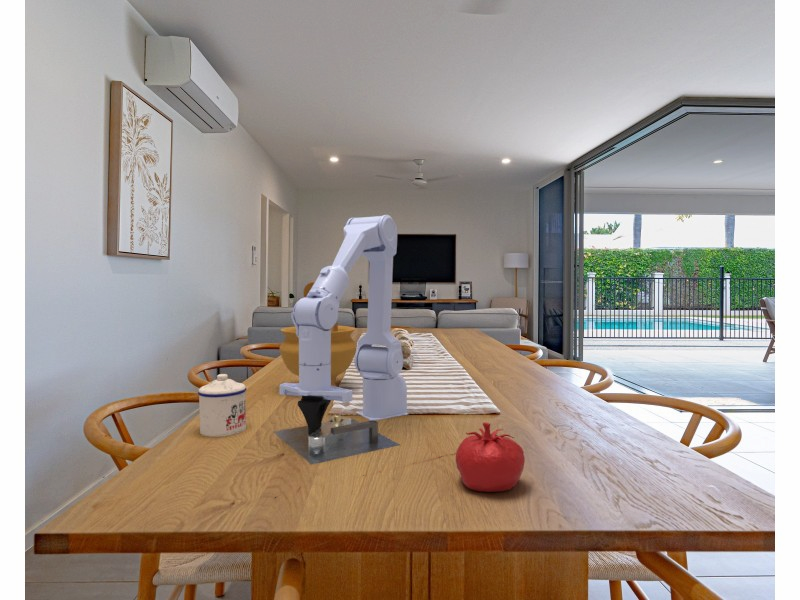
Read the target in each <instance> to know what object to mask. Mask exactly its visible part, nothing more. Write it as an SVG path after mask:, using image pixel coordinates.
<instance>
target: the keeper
mask: <svg viewBox="0 0 800 600" xmlns="http://www.w3.org/2000/svg"><path fill="white" fill-rule="evenodd" d="M366 428H369V442H371V443H377V442H378V433H379V421H378V420H376V419H374V420H368V421H362V422H359V423H355V424H350V425H344V426H339V427H333V428H331V433H332V434H334V435H335V434H340V433H345V432H350V431H356V430H361V429H366Z"/></svg>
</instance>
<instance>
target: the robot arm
mask: <svg viewBox="0 0 800 600" xmlns="http://www.w3.org/2000/svg"><path fill="white" fill-rule="evenodd" d="M343 238H344V239H343V241H342V243H341V246H340V247H339V250H338V252H337V253H336V256H335V257H334V260H333V262H332V265H326V266H325V267H322V268H321V270H320V272H319V275H318V276H317V278H316V280H315V281H314V282H315V283H314V285H313V286H312V288H311V290H310V291H309V293H308V295H307V296H306V297H304V296H303V297H302V298H299V300H297V302H296V303H295V304H294V306H293V310H292V312H291V314H290V315H291V316H290V317H291V321H292V323H293V326H294V327H296V335H297V337H298V338H299V376H298V382H297V383H296V382H295V383H294V382H292V383H291V382H284V383H281V384H279V388H278V389H279V395H280V396H286V395H288V396H296V397H301V398H300V400H298V401H297V406H298V408H299V409H300V411H301V413H302V415H303V418H304V420H305V421H306V426H308V434H309V436H310V435H311V434H312V433H313V432H315V431H316V430H317V429H319V428H320V427H321V423H323V418H324V415H325V413H326V411H327V409H328V407H329V406H330V403H331V401H334V402H335V401H336V402H337V401H338V402H341V403H343V404H348V403H350V402H352V401H353V390H352V389H349V388H348V389H346V388H342V387H339V386H337V387H335V386H331V328H332V327H333V326H334V325H335V323H336V322H337V323H338V317H339V310H340V300H341V299H342V297H343V296H344V294H345V292H346V290H347V289H348V286H349V284H350V277H349V273H350V271H351V270H352V268H353V267H354V266H355V264H356V262H357V261H358V259H359V258H360V257H361V256H362V257H364V258H366V260H367V261H368V262H369V270H368V274H369V275H368V295H367V296H368V297H367V298H368V299H367V301H368V302H367V321H366V322H367V323H366V326H367V327H366V328H367V329H366V330H367V331H366V333H365V334H363V335H362V336H361V337H359V339H358V340H357V344H356V345H357V349H356V353H355V356H354V358H353V360H354V366H355V369H356V371H357V372H358V373H359V376H360V377H362V410H359V411H355V413H356V414H358V415H360V416H362V417H363V418H366V419H367V420H369V421H372V420H375V421H379V420H384V419H389V418H394V417H401V416H405V415H406V416H407V415H409V412H408V401H407V400H408V395H407V393H408V389H407V383H406V380H405V378H404V376H402V375H401V371H402V369H403V366H404V355H403V350H402V341H400V340H399V339H398V338H397V337H396V336H395V335H394V334H393V333H392V332H391V329H392V328H391V326H392V295H393V272H394V271H393V269H394V257H395V256H396V254H397V247H398V227H397V225H396V223H395V221H394V219H393V218H392V216H391V215H390V214H384V215H377V216H365V217H364V216H363V217H356V216H355V217H350V218H349V219H348V220H347V221H346V224H345V226H344V227H343ZM373 345H374V346H373Z"/></svg>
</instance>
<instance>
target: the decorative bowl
mask: <svg viewBox="0 0 800 600" xmlns="http://www.w3.org/2000/svg"><path fill="white" fill-rule="evenodd" d="M314 283H315V281H310V282H309V283H307V284H305V286H304V288H303V298H304V297H306V296H307V295H308V293H309V291H310V290H311V288H312V286H313V285H314ZM355 330H356V327H354V326H347V325H339V324H338V321H337V322H336V323H335V325H334V326H333V327H332V328H331V386H335V387H338V385H337V384H336V379H337V377H338V376H339V375H341V374H343V373H344V372H346V371H348V369H349V368H350V366H351V365H352V362H353V360H354V357H355V353H356V350H357V345H358V344H357V343H356V341H355V340H354V339H353V338H352V337H351V335H352V334H353V333H354V331H355ZM280 331H281V332H282V333H283V335H284V336H285V339H284V340H283V341H282V342H281V344H280V345H279V354H280V356H281V359H282V361H283V362H284V365H285V366H286V368H287V369H288V371H289V372H290V373H292V374H294V375H295V376H297V377H299V338H298V337H297V335H296V327H295V326H288V327H283V328H280Z"/></svg>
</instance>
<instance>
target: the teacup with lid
mask: <svg viewBox="0 0 800 600" xmlns="http://www.w3.org/2000/svg"><path fill="white" fill-rule="evenodd" d="M246 392H247V386H246V385H245V384H244V383H242V382H237V381H235V380H233V379H232V378H229V376H228V374H227V373H220V374H218V375H216V379H214V380H212V381H210V382H209V383H207V384H205V385H202V386H201V387H200V388H198V391H197V394H198V400H199V401H198V402H199V408H198V409H199V434H200V435H202V436H204V437H205V436H206V437H212V438H213V437H214V438H215V437H216V438H217V437H226V436H232V435H236V434H239V433H241V432H244V431H245V430H246V428H247V424H246V422H247V421H246V420H247V419H246V418H247V417H246V415H247V414H246V413H247V411H246V409H247V408H246V407H247V406H246Z"/></svg>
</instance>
